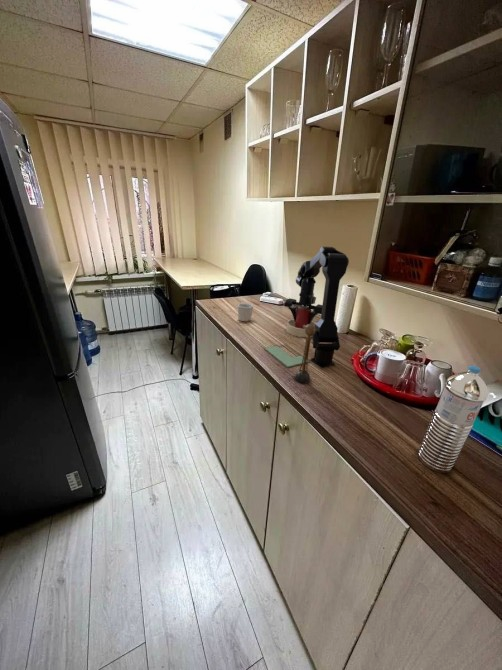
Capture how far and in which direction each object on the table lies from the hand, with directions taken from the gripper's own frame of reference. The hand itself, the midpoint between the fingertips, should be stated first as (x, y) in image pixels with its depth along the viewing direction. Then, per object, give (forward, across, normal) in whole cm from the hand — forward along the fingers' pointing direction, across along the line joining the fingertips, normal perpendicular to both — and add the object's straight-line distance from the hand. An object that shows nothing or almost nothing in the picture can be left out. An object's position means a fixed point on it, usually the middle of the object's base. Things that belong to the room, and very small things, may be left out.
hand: (302, 323), depth 129 cm
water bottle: (+5, -54, +54) cm, 77 cm away
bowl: (+5, 0, 0) cm, 5 cm away
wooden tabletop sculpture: (+5, -16, +39) cm, 42 cm away
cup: (0, +31, +3) cm, 31 cm away
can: (+4, 0, 0) cm, 4 cm away
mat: (+5, -4, +27) cm, 27 cm away
